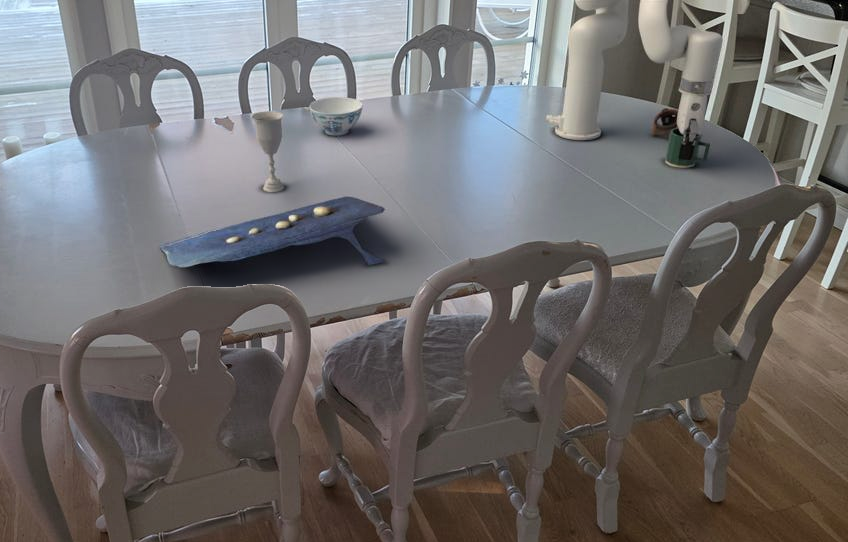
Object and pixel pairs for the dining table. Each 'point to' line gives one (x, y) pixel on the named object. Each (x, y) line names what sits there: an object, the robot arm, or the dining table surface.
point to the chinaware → (336, 114)
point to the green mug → (674, 149)
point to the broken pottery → (665, 122)
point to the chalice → (269, 143)
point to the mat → (276, 233)
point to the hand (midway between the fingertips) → (681, 152)
